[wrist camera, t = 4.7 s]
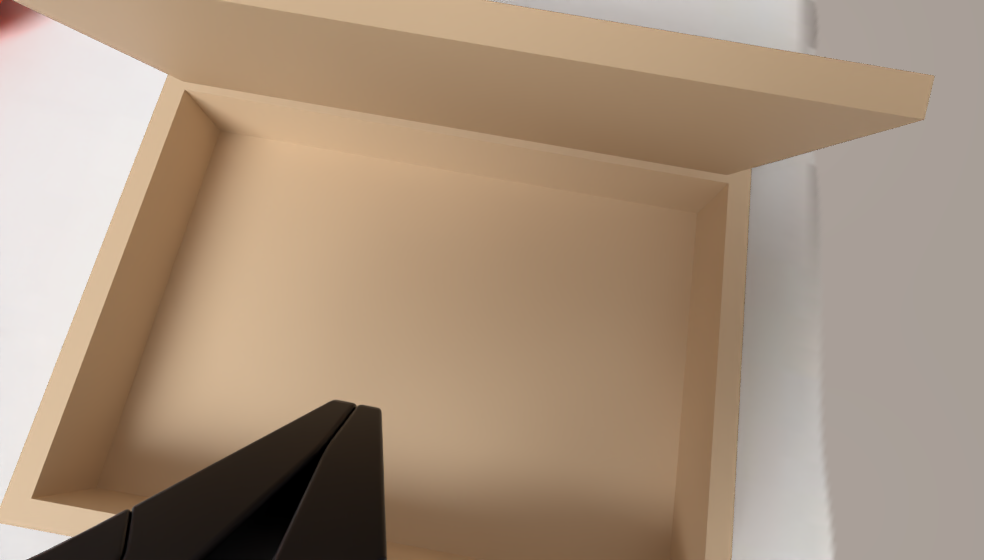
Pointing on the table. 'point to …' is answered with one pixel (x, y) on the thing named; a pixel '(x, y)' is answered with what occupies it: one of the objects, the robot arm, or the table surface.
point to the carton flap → (515, 74)
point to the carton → (410, 330)
